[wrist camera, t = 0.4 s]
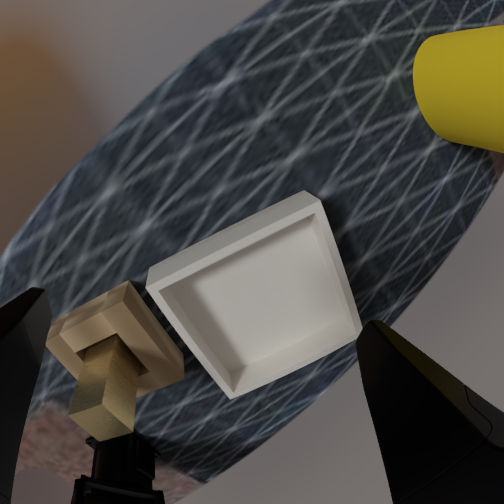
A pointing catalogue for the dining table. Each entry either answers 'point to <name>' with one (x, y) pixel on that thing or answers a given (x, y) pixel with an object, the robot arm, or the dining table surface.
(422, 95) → the yellow toilet paper roll
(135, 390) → the pin
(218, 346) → the tray
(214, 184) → the dining table surface
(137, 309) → the block
